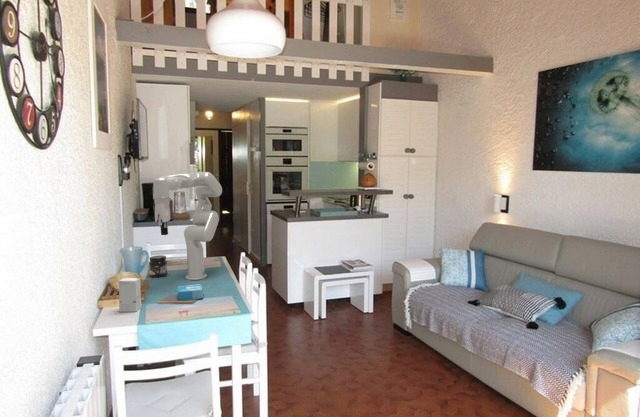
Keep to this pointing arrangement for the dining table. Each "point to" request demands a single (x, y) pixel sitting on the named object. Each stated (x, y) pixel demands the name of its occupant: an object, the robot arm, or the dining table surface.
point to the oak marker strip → (174, 302)
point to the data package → (190, 292)
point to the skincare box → (129, 295)
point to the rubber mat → (176, 298)
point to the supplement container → (158, 266)
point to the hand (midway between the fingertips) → (164, 234)
